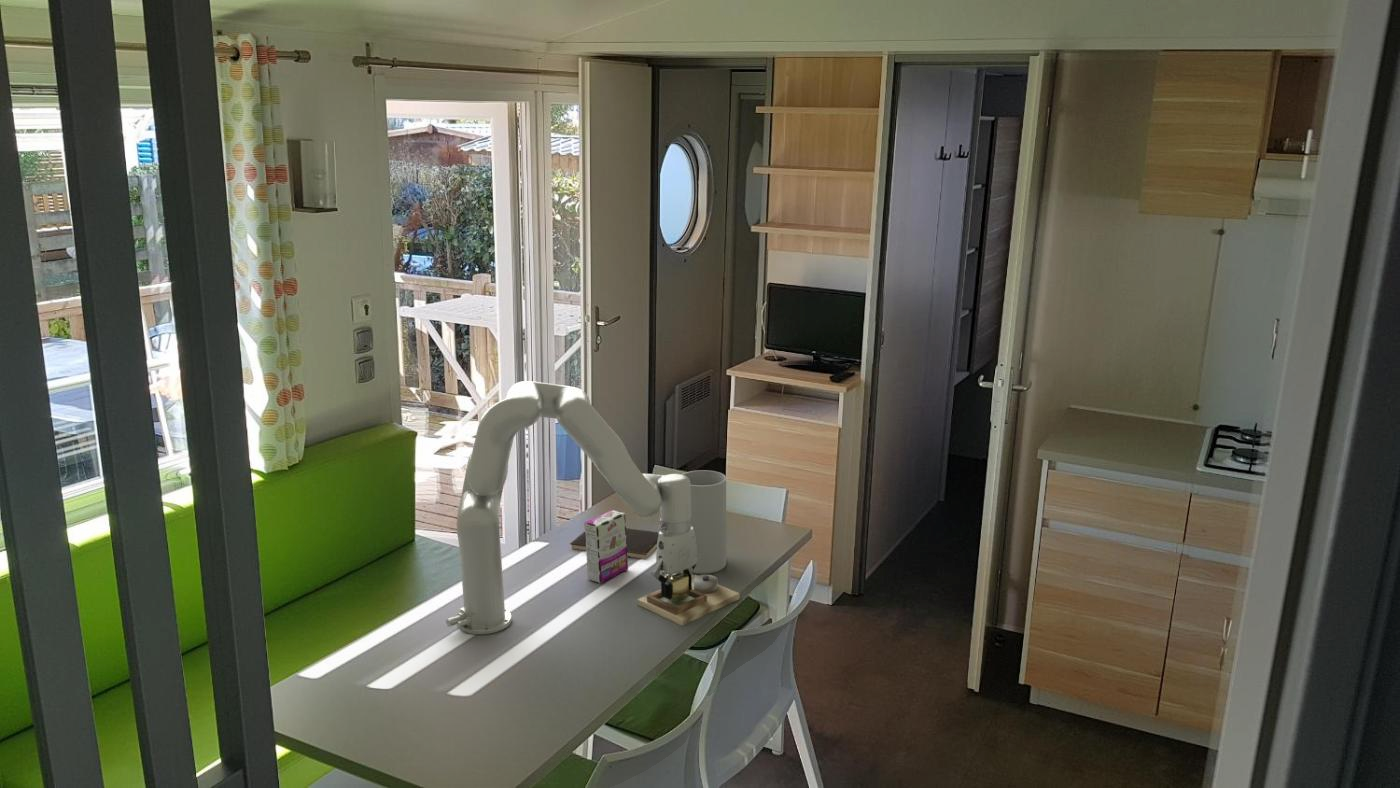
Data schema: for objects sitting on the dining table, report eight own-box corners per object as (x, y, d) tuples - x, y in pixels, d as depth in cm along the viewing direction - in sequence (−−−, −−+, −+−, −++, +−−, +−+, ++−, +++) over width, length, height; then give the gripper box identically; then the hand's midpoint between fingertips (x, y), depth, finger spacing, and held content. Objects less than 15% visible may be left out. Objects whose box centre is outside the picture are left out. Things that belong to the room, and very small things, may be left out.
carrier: (681, 625, 246) (681, 607, 245) (637, 604, 257) (637, 586, 256) (739, 598, 259) (739, 581, 258) (695, 579, 270) (694, 562, 269)
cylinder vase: (700, 552, 288) (699, 467, 281) (735, 563, 280) (735, 476, 274) (670, 566, 278) (669, 479, 272) (706, 579, 271) (705, 489, 264)
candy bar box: (614, 565, 280) (612, 508, 276) (628, 570, 277) (626, 512, 273) (586, 579, 271) (583, 521, 267) (600, 584, 268) (597, 525, 264)
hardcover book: (645, 561, 283) (645, 553, 283) (570, 550, 291) (570, 543, 291) (667, 539, 298) (666, 532, 297) (594, 530, 306) (594, 523, 305)
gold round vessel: (676, 603, 250) (675, 581, 249) (659, 595, 255) (659, 573, 253) (693, 595, 255) (693, 573, 253) (677, 587, 259) (676, 566, 257)
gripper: (659, 539, 241) (661, 609, 246) (711, 519, 253) (712, 586, 258) (638, 530, 247) (640, 599, 251) (690, 511, 258) (691, 577, 263)
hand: (676, 592), depth 254 cm, fingers closed on gold round vessel, 6 cm apart
